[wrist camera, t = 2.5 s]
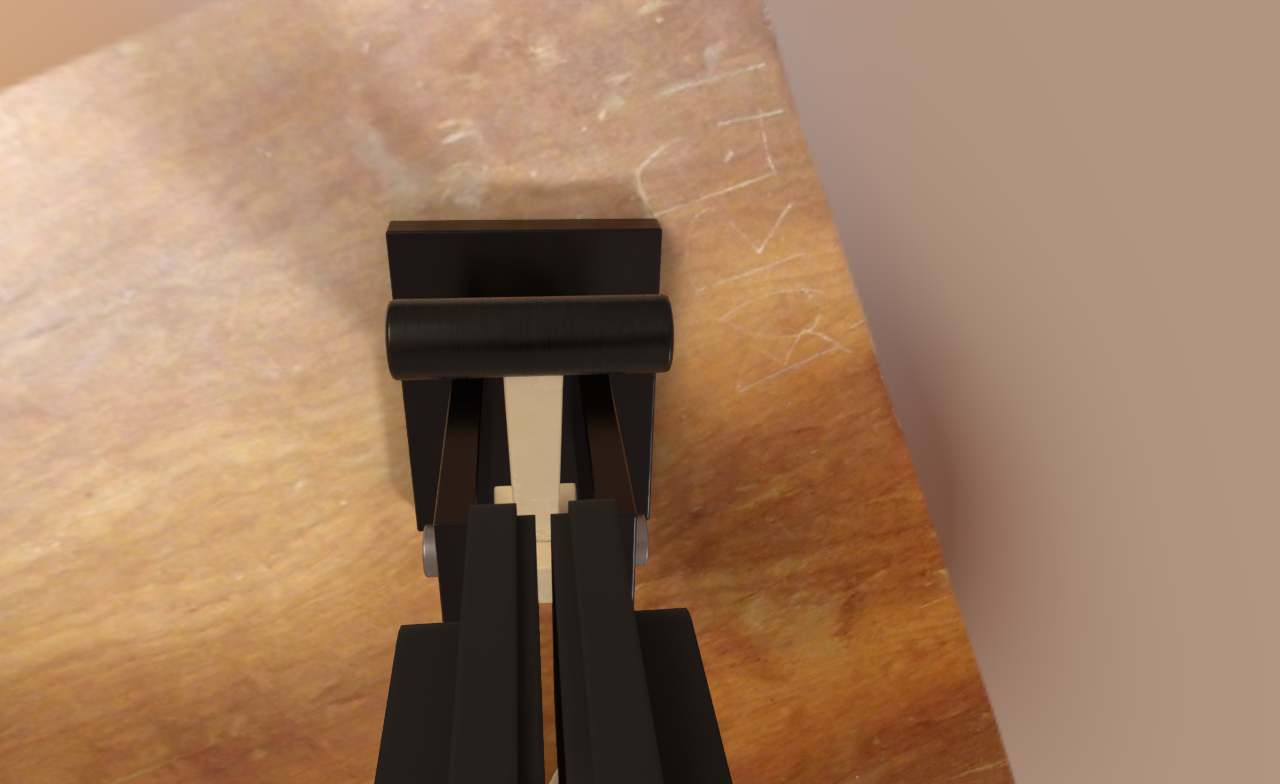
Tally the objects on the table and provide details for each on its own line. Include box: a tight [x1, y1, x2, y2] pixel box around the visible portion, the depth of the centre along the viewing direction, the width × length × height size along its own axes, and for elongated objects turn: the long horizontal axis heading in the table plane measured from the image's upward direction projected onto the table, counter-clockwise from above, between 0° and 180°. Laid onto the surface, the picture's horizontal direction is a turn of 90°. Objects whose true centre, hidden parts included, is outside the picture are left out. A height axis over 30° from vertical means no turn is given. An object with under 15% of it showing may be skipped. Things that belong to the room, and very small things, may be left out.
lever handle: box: [385, 294, 674, 603], centre depth 21 cm, size 12×5×2 cm
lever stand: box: [386, 219, 662, 623], centre depth 29 cm, size 12×9×12 cm
